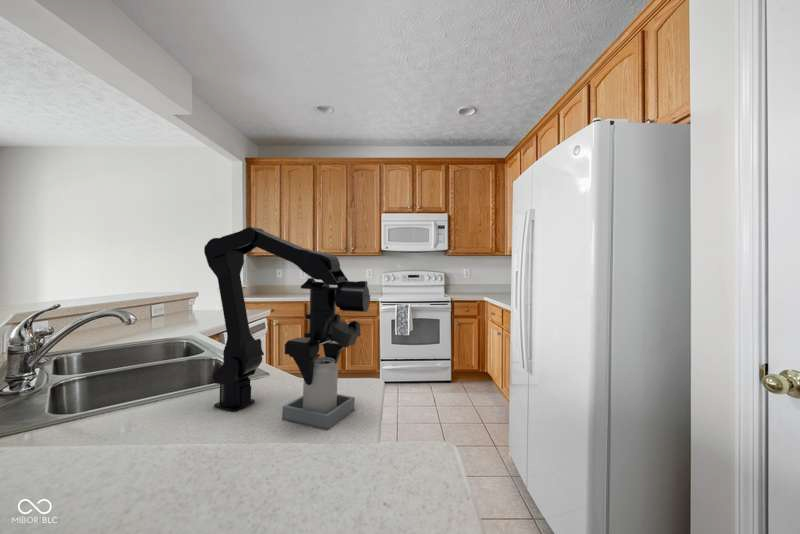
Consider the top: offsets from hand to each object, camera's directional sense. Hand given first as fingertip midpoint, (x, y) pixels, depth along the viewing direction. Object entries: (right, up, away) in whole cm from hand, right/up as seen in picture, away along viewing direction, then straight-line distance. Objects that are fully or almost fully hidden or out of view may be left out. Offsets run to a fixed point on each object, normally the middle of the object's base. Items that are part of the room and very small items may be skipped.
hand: (320, 378), depth 83 cm
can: (0, -8, 0) cm, 8 cm away
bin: (0, -8, 0) cm, 8 cm away
